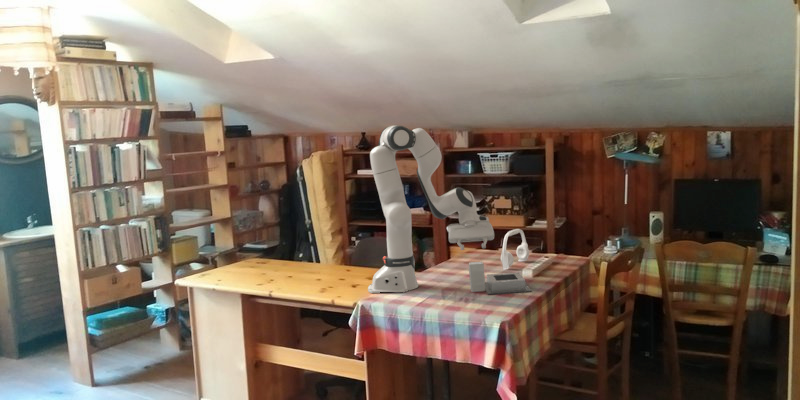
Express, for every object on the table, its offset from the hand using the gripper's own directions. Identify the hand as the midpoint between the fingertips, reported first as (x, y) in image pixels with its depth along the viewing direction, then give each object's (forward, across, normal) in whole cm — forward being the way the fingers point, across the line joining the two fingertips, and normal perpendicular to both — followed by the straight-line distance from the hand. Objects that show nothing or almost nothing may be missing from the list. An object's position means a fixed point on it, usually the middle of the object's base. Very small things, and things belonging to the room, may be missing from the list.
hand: (473, 248), depth 283 cm
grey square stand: (+18, +12, +4) cm, 22 cm away
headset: (-8, +23, +32) cm, 40 cm away
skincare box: (+19, 0, +4) cm, 19 cm away
